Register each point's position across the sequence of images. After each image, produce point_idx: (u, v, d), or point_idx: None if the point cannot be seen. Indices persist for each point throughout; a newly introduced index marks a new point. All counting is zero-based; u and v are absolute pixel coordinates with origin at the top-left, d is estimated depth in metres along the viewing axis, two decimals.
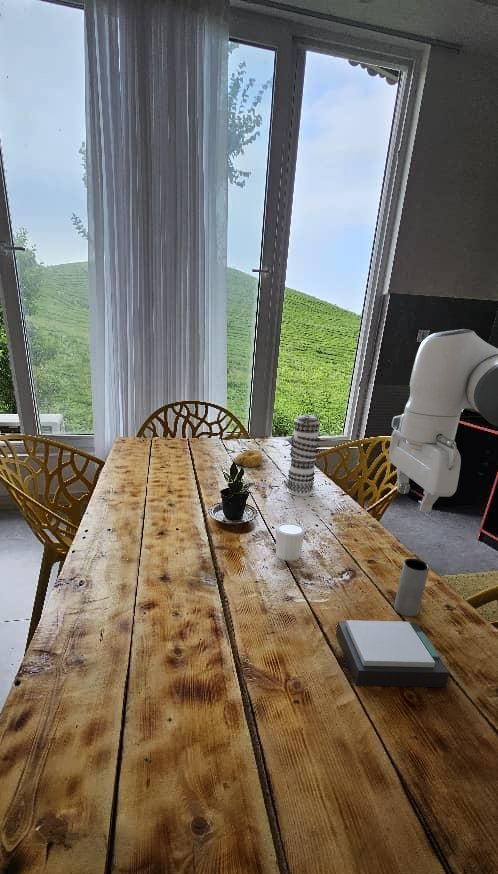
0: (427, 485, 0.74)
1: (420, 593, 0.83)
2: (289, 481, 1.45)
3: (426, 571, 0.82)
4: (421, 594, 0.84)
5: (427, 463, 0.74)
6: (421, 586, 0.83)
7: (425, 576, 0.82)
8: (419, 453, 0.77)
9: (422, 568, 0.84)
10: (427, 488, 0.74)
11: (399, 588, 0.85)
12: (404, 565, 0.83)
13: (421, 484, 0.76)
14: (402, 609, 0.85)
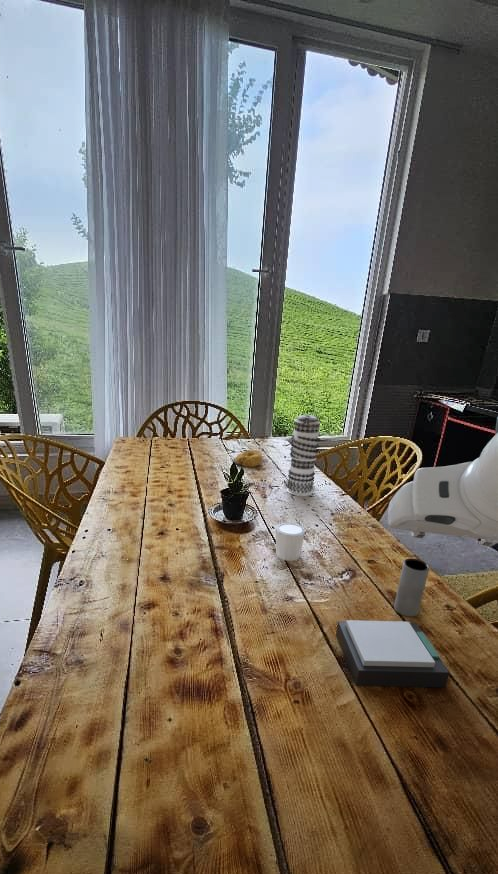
0: None
1: (420, 593, 0.83)
2: (289, 481, 1.45)
3: (426, 571, 0.82)
4: (421, 594, 0.84)
5: None
6: (421, 586, 0.83)
7: (425, 576, 0.82)
8: None
9: (422, 568, 0.84)
10: None
11: (399, 588, 0.85)
12: (404, 565, 0.83)
13: None
14: (402, 609, 0.85)
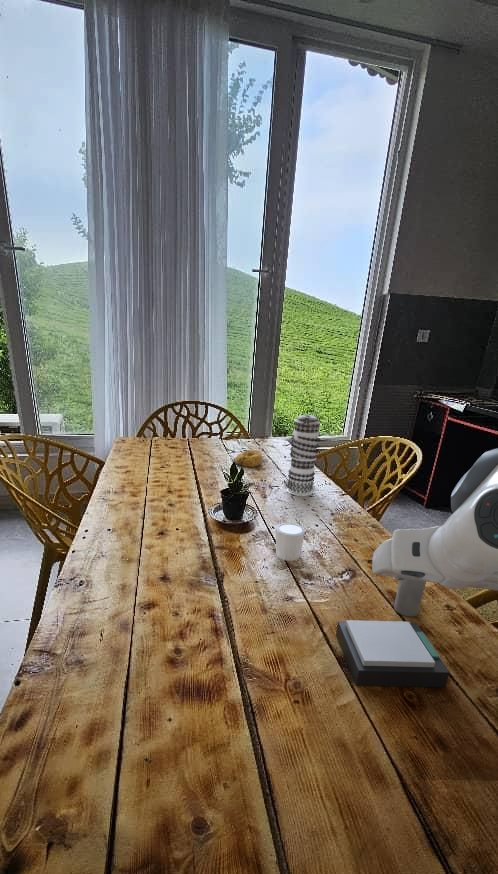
0: (487, 588, 0.70)
1: (420, 593, 0.83)
2: (289, 481, 1.45)
3: None
4: (421, 594, 0.84)
5: (482, 579, 0.67)
6: (421, 586, 0.83)
7: None
8: None
9: None
10: None
11: (399, 588, 0.85)
12: None
13: None
14: (402, 609, 0.85)
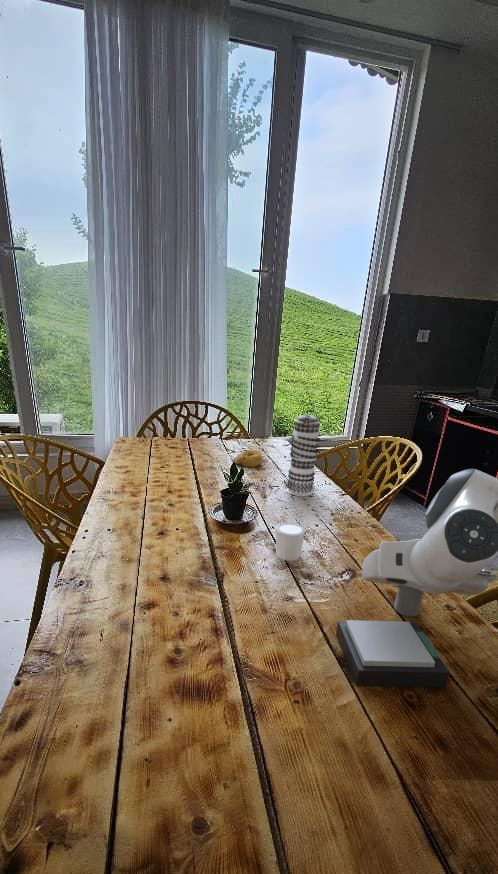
0: (464, 593, 0.79)
1: (420, 593, 0.83)
2: (289, 481, 1.45)
3: None
4: (421, 594, 0.84)
5: (458, 585, 0.76)
6: None
7: None
8: None
9: None
10: (464, 593, 0.79)
11: (399, 588, 0.85)
12: None
13: None
14: (403, 609, 0.85)
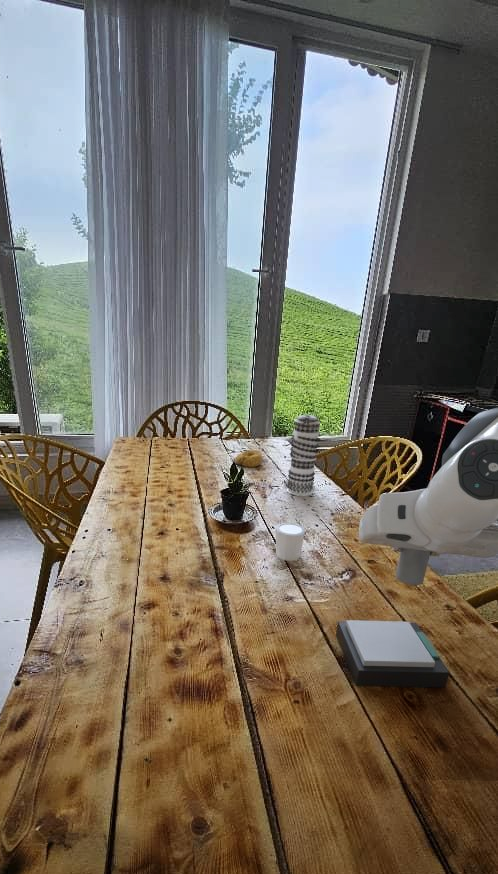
0: (476, 555, 0.68)
1: (425, 558, 0.73)
2: (289, 481, 1.45)
3: None
4: (427, 559, 0.73)
5: (470, 545, 0.66)
6: None
7: None
8: None
9: None
10: (476, 556, 0.68)
11: (401, 553, 0.75)
12: None
13: (460, 554, 0.69)
14: (405, 577, 0.75)
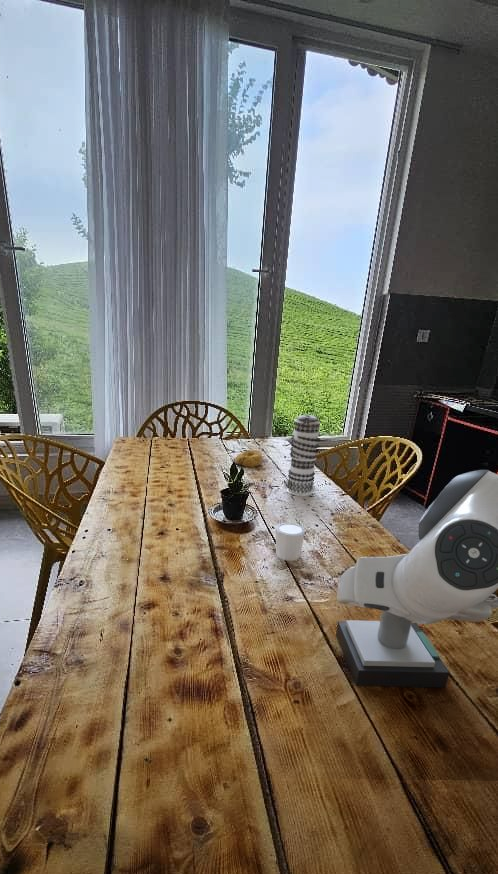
0: (461, 620, 0.64)
1: (408, 621, 0.69)
2: (289, 481, 1.45)
3: None
4: (409, 622, 0.69)
5: None
6: None
7: None
8: None
9: None
10: (461, 620, 0.64)
11: (383, 614, 0.70)
12: None
13: None
14: (387, 640, 0.70)
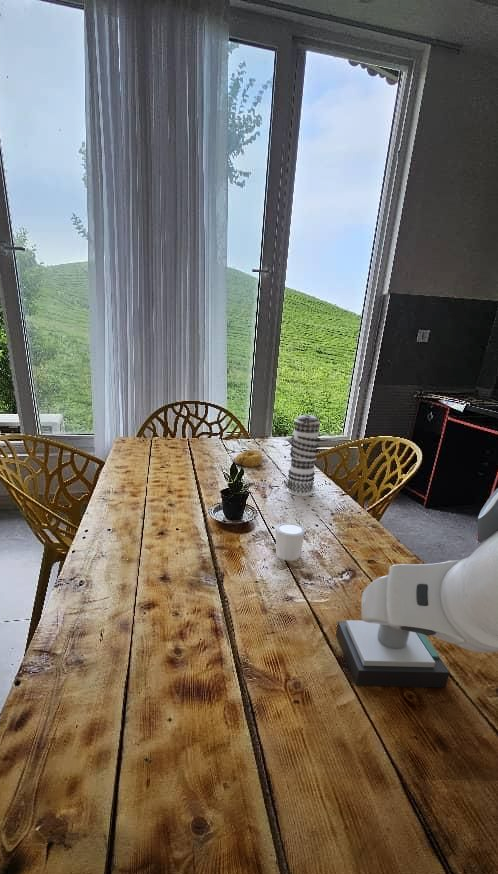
0: None
1: None
2: (289, 481, 1.45)
3: None
4: None
5: None
6: None
7: None
8: None
9: None
10: None
11: None
12: None
13: None
14: (387, 640, 0.70)
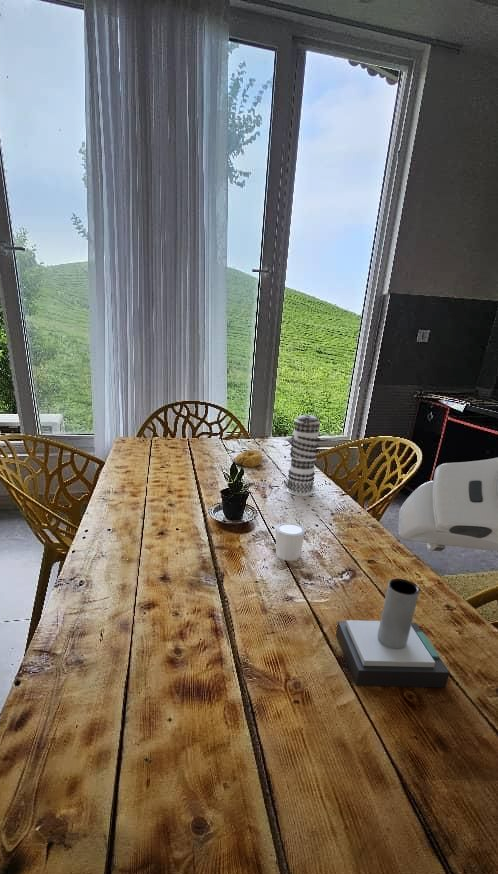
0: None
1: (408, 621, 0.69)
2: (289, 481, 1.45)
3: (415, 595, 0.67)
4: (409, 622, 0.69)
5: None
6: (409, 613, 0.68)
7: (414, 601, 0.67)
8: None
9: (411, 591, 0.70)
10: None
11: (383, 614, 0.70)
12: (389, 587, 0.69)
13: None
14: (387, 640, 0.70)
